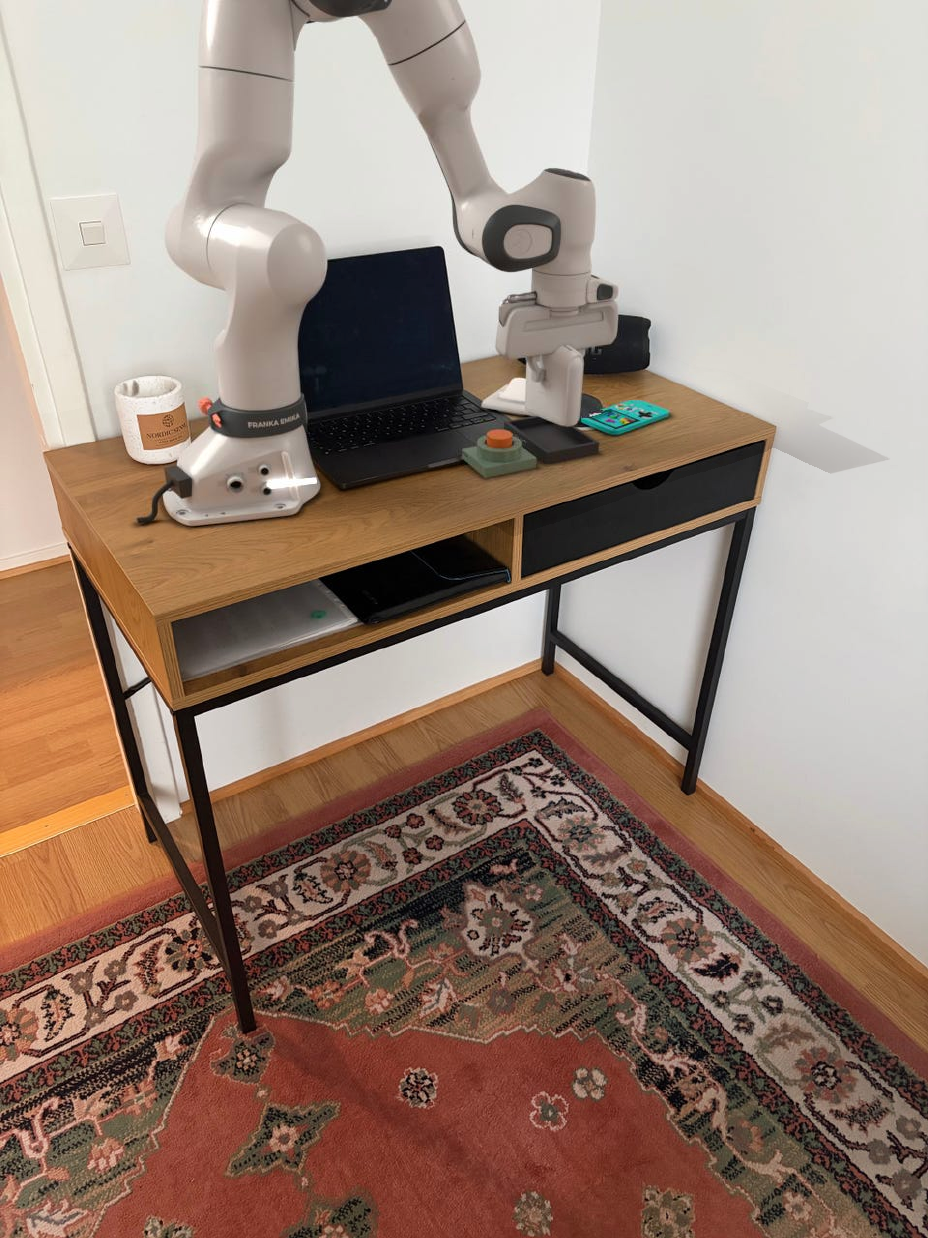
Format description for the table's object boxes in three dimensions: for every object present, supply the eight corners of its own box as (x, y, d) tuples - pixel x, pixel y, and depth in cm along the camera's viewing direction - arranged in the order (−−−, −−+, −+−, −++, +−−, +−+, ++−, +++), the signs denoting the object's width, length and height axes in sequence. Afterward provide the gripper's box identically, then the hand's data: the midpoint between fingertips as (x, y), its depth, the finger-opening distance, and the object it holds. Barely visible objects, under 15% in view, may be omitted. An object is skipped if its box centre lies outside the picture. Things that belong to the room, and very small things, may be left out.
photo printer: (520, 410, 150) (523, 335, 143) (539, 404, 152) (543, 330, 145) (564, 430, 143) (570, 352, 136) (583, 423, 145) (590, 347, 138)
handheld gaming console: (672, 409, 160) (615, 430, 152) (671, 415, 160) (614, 436, 152) (635, 396, 165) (578, 416, 157) (635, 402, 166) (578, 421, 157)
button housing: (485, 478, 138) (485, 456, 136) (462, 458, 144) (462, 438, 142) (536, 467, 142) (537, 446, 140) (511, 449, 147) (512, 428, 146)
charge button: (494, 451, 139) (494, 440, 138) (482, 442, 142) (482, 431, 141) (516, 447, 140) (517, 436, 139) (504, 438, 143) (505, 427, 142)
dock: (546, 464, 143) (547, 452, 142) (503, 432, 153) (504, 421, 152) (598, 453, 146) (599, 442, 145) (552, 423, 157) (553, 412, 156)
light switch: (563, 378, 166) (540, 397, 156) (561, 401, 168) (538, 420, 158) (507, 370, 169) (481, 388, 159) (506, 392, 171) (480, 410, 161)
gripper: (510, 301, 130) (506, 394, 137) (627, 286, 137) (618, 375, 145) (489, 290, 134) (487, 381, 142) (604, 276, 142) (596, 363, 150)
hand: (554, 378), depth 144 cm, fingers closed on photo printer, 5 cm apart
